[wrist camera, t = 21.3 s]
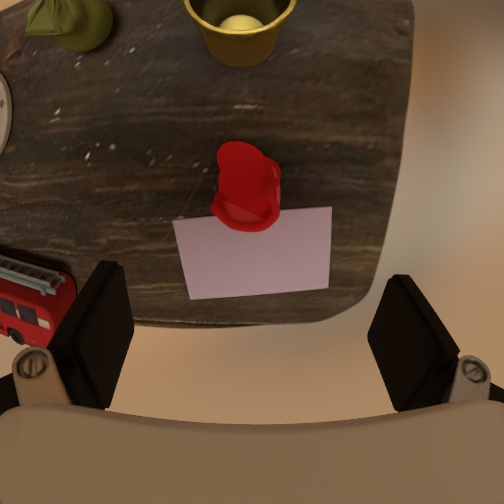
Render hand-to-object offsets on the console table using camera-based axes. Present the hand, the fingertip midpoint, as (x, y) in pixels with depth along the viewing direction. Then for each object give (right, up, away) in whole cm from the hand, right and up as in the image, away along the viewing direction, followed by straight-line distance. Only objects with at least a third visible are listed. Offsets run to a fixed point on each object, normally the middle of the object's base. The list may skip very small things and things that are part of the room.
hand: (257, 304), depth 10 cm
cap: (0, +5, +14) cm, 15 cm away
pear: (-15, +23, +10) cm, 29 cm away
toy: (-34, -8, +22) cm, 42 cm away
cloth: (0, +1, +23) cm, 23 cm away
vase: (-1, +21, +12) cm, 24 cm away
